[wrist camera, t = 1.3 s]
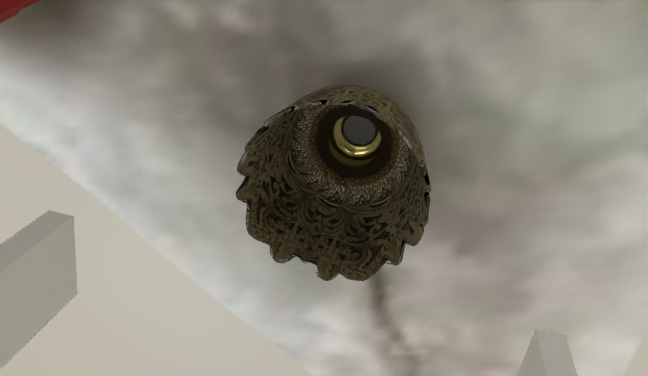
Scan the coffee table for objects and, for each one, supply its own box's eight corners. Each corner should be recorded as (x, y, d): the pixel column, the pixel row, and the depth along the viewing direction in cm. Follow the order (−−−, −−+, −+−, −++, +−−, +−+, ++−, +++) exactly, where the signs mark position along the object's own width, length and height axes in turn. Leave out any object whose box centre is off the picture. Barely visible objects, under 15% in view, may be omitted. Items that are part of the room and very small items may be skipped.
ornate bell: (462, 92, 26) (468, 156, 19) (398, 217, 30) (383, 310, 23) (315, 30, 26) (267, 70, 19) (268, 161, 30) (213, 237, 23)
